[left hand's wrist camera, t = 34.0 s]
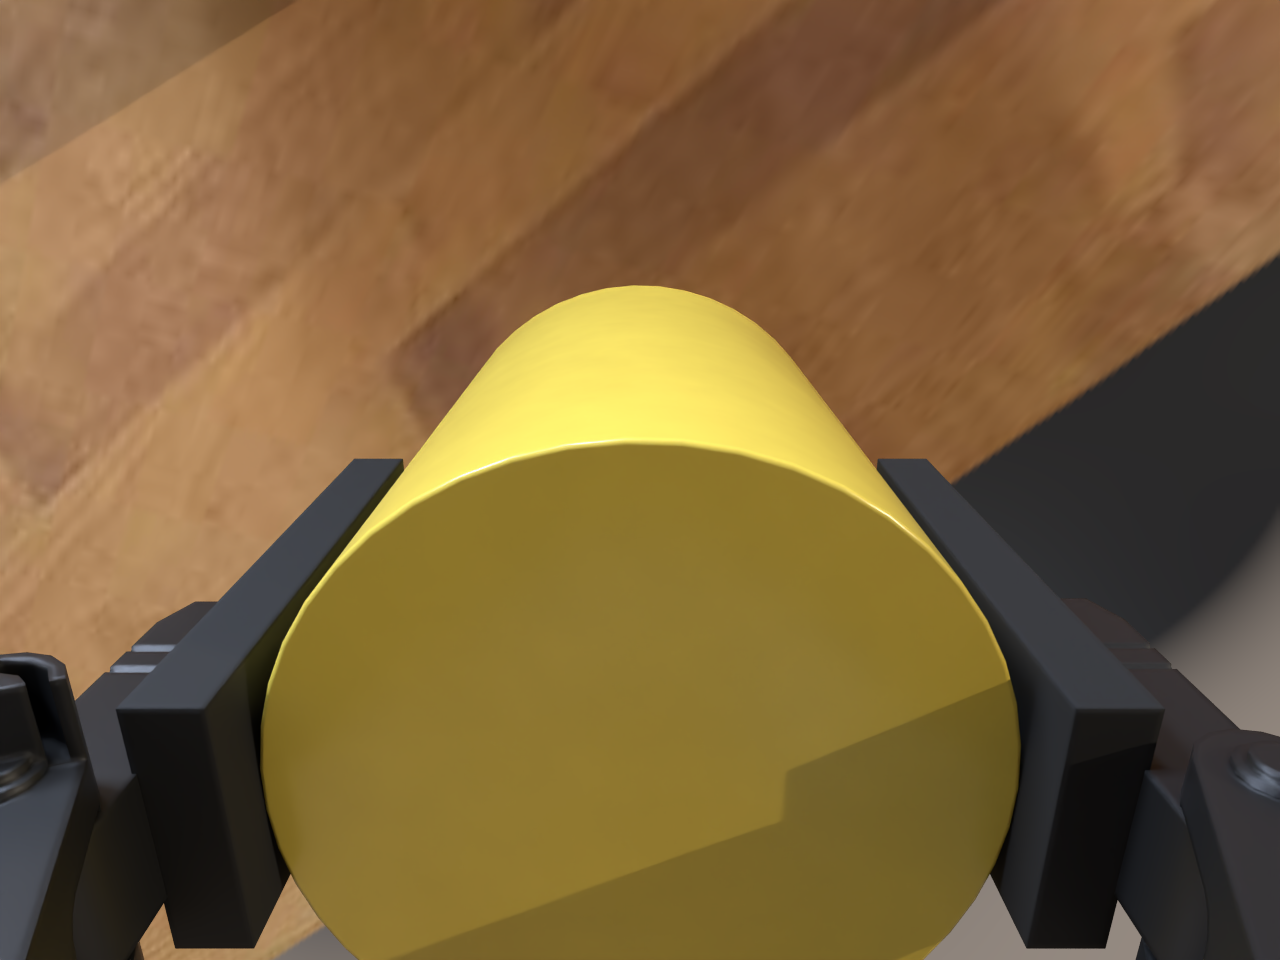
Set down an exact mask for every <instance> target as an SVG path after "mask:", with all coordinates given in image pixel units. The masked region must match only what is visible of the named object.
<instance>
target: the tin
mask: <svg viewBox="0 0 1280 960" xmlns="http://www.w3.org/2000/svg"><path fill="white" fill-rule="evenodd" d="M1020 754H1021V739H1020V729H1019V719H1018V709H1017V701H1016V698H1015V694H1014V690H1013V686H1012V683H1011V679H1010V675H1009V671H1008V668H1007V664H1006V661H1005V658H1004V656H1003V654H1002V652H1001V649H1000V647H999V645H998V643H997V641H996V638H995V636H994V634H993V632H992V629H991V627H990V625H989V623H988V621H987V619H986V617H985V616H984V614H983V613H982V611H981V610H980V608H979V607H978V605H977V604H976V602H975V601H974V599H973V598H972V596H971V595H970V593H969V592H968V590H967V589H966V587H965V586H964V584H963V583H962V581H961V580H960V578H959V577H958V576H957V574H956V573H955V572H954V571H953V569H952V568H951V567H950V565H949V564H948V563H947V561H946V560H945V559H944V557H943V556H942V555H941V554H940V552H939V551H938V550H937V548H936V547H935V546H934V544H933V543H932V542H931V540H930V539H929V538H928V537H927V535H926V534H925V533H924V531H923V530H922V529H921V527H920V526H919V525H918V523H917V522H916V521H915V520H914V518H913V517H912V516H911V514H910V513H909V512H908V510H907V509H906V508H905V506H904V505H903V504H902V502H901V501H900V500H899V499H898V497H897V496H896V495H895V493H894V492H893V491H892V489H891V488H890V487H889V485H888V484H887V483H886V482H885V480H884V479H883V478H882V476H881V475H880V474H879V472H878V471H877V470H876V468H875V467H874V466H873V465H872V463H871V462H870V461H869V459H868V458H867V457H866V455H865V454H864V453H863V451H862V450H861V449H860V447H859V446H858V445H857V444H856V442H855V441H854V440H853V438H852V437H851V436H850V434H849V433H848V432H847V430H846V429H845V428H844V427H843V425H842V424H841V423H840V421H839V420H838V419H837V417H836V416H835V415H834V413H833V412H832V411H831V410H830V408H829V407H828V406H827V404H826V403H825V402H824V400H823V399H822V398H821V396H820V395H819V394H818V393H817V391H816V390H815V389H814V387H813V386H812V385H811V383H810V382H809V381H808V379H807V378H806V377H805V375H804V374H803V373H802V372H801V370H800V369H799V368H798V366H797V365H796V364H795V362H794V361H793V360H792V358H791V357H790V356H789V355H788V354H787V353H786V352H785V351H784V349H783V348H782V347H781V346H780V345H779V344H778V343H777V342H776V340H775V339H774V338H772V337H771V336H770V335H769V334H768V333H767V332H765V331H764V330H763V329H762V328H761V327H759V326H758V325H757V324H756V323H755V322H753V321H752V320H750V319H748V318H747V317H745V316H744V315H742V314H741V313H739V312H737V311H736V310H734V309H732V308H730V307H728V306H726V305H724V304H721V303H719V302H717V301H715V300H713V299H711V298H708V297H704V296H701V295H698V294H695V293H691V292H688V291H684V290H678V289H672V288H666V287H660V286H624V287H614V288H606V289H602V290H598V291H594V292H589V293H585V294H581V295H579V296H576V297H573V298H571V299H568V300H566V301H563V302H561V303H558V304H556V305H554V306H552V307H551V308H549V309H547V310H545V311H543V312H542V313H540V314H538V315H536V316H534V317H533V318H532V319H530V320H529V321H528V322H526V323H525V324H524V325H522V326H521V327H520V328H518V329H517V330H516V331H514V332H513V333H512V334H511V335H510V336H509V337H508V338H507V339H506V340H505V341H504V342H503V343H502V344H501V345H500V346H499V347H498V348H497V349H496V351H495V352H494V353H493V354H492V356H491V357H490V358H489V360H488V361H487V362H486V364H485V365H484V366H483V368H482V369H481V370H480V371H479V373H478V374H477V375H476V377H475V378H474V379H473V381H472V382H471V383H470V385H469V386H468V387H467V389H466V390H465V391H464V393H463V394H462V395H461V396H460V398H459V399H458V400H457V402H456V403H455V404H454V406H453V407H452V408H451V410H450V411H449V412H448V414H447V415H446V416H445V418H444V419H443V420H442V421H441V423H440V424H439V425H438V427H437V428H436V429H435V431H434V432H433V433H432V435H431V436H430V437H429V439H428V440H427V441H426V443H425V444H424V445H423V446H422V448H421V449H420V450H419V452H418V453H417V454H416V456H415V457H414V458H413V460H412V461H411V462H410V464H409V465H408V466H407V468H406V469H405V470H404V471H403V473H402V474H401V475H400V477H399V478H398V479H397V481H396V482H395V483H394V485H393V486H392V487H391V489H390V490H389V491H388V493H387V494H386V495H385V496H384V498H383V499H382V500H381V502H380V503H379V504H378V506H377V507H376V508H375V510H374V511H373V512H372V514H371V515H370V516H369V518H368V519H367V520H366V521H365V523H364V524H363V525H362V527H361V528H360V529H359V531H358V532H357V533H356V535H355V536H354V537H353V539H352V540H351V541H350V543H349V544H348V545H347V546H346V548H345V549H344V550H343V552H342V553H341V554H340V556H339V557H338V558H337V560H336V561H335V562H334V564H333V565H332V566H331V568H330V569H329V570H328V571H327V573H326V574H325V575H324V577H323V578H322V579H321V581H320V582H319V583H318V585H317V586H316V587H315V589H314V590H313V591H312V593H311V594H310V595H309V596H308V598H307V599H306V600H305V602H304V604H303V605H302V607H301V609H300V611H299V613H298V615H297V616H296V618H295V620H294V622H293V624H292V626H291V627H290V629H289V631H288V633H287V635H286V637H285V638H284V640H283V642H282V645H281V648H280V651H279V654H278V657H277V659H276V662H275V665H274V668H273V671H272V674H271V676H270V679H269V682H268V687H267V692H266V698H265V704H264V709H263V715H262V721H261V748H260V770H261V777H262V784H263V790H264V797H265V804H266V810H267V813H268V816H269V819H270V823H271V826H272V829H273V832H274V835H275V839H276V842H277V845H278V848H279V850H280V852H281V854H282V856H283V858H284V861H285V863H286V865H287V867H288V869H289V871H290V873H291V875H292V877H293V879H294V881H295V883H296V885H297V886H298V888H299V889H300V891H301V892H302V894H303V895H304V897H305V898H306V900H307V901H308V903H309V904H310V906H311V907H312V909H313V910H314V912H315V913H316V915H317V916H318V918H319V919H320V920H321V921H322V922H323V923H324V925H325V926H326V927H327V928H328V929H329V930H330V931H331V933H332V934H333V935H334V936H335V937H336V938H337V939H338V941H339V942H340V943H341V944H342V945H343V946H344V947H345V948H346V949H347V950H348V951H349V952H350V953H351V954H352V955H353V956H355V957H356V958H357V959H358V960H923V959H924V958H925V957H926V956H927V955H928V954H929V953H930V952H931V951H932V950H933V949H934V948H935V947H936V946H937V945H938V944H939V943H940V942H941V941H942V940H943V939H944V938H945V937H946V936H947V935H948V934H949V933H950V932H951V931H952V929H953V928H954V927H955V925H956V924H957V923H958V922H959V920H960V919H961V918H962V916H963V915H964V914H965V912H966V911H967V910H968V908H969V907H970V906H971V904H972V903H973V902H974V900H975V899H976V897H977V895H978V894H979V892H980V890H981V888H982V887H983V885H984V883H985V881H986V880H987V878H988V876H989V874H990V873H991V871H992V869H993V867H994V866H995V863H996V861H997V858H998V856H999V853H1000V850H1001V848H1002V845H1003V843H1004V840H1005V838H1006V835H1007V833H1008V830H1009V827H1010V823H1011V818H1012V814H1013V810H1014V805H1015V801H1016V796H1017V792H1018V786H1019V770H1020Z"/></svg>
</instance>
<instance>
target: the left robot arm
mask: <svg viewBox="0 0 1280 960" xmlns="http://www.w3.org/2000/svg"><path fill="white" fill-rule="evenodd" d="M403 471H404V466H403V459H354V460H353V461H352V462H351V463H350V464H349V465H348V466H347V467H346V468H345V469H344V470H343V471H342V472H341V473H340V474H339V475H338V477H337V478H336V479H335V480H334V481H333V482H332V483H331V484H330V485H329V486H328V487H327V488H326V489H325V490H324V491H323V492H322V493H321V494H320V495H319V496H318V497H317V498H316V500H315V501H314V502H313V503H312V504H311V505H310V506H309V507H308V508H307V509H306V510H305V511H304V512H303V513H302V514H301V515H300V516H299V517H298V518H297V519H296V520H295V521H294V523H293V524H292V525H291V526H290V527H289V528H288V529H287V530H286V531H285V532H284V533H283V534H282V535H281V536H280V537H279V538H278V539H277V540H276V541H275V542H274V543H273V545H272V546H271V547H270V548H269V549H268V550H267V551H266V552H265V553H264V554H263V555H262V556H261V557H260V558H259V559H258V560H257V561H256V562H255V563H254V564H253V565H252V566H251V568H250V569H249V570H248V571H247V572H246V573H245V574H244V575H243V576H242V577H241V578H240V579H239V580H238V581H237V582H236V583H235V584H234V585H233V586H232V587H231V588H230V589H229V591H228V592H227V593H226V594H225V595H224V596H223V597H222V598H221V599H220V600H219V601H218V602H194V603H192V604H190V605H188V606H186V607H185V608H183V609H181V610H179V611H177V612H175V613H173V614H172V615H170V616H168V617H166V618H164V619H162V620H161V621H159V622H157V623H156V624H155V625H154V626H153V627H152V628H151V629H150V630H149V631H148V632H147V633H145V634H144V635H143V636H142V637H141V638H140V639H139V640H138V641H137V642H136V643H135V644H134V645H133V646H132V650H131V652H126V653H125V654H124V655H122V656H121V657H120V658H119V659H118V660H117V661H116V662H115V663H114V664H113V665H112V666H111V667H110V672H105V673H104V674H103V675H102V676H101V677H100V678H98V679H97V680H96V681H95V682H94V683H93V684H92V685H91V686H90V687H89V688H88V689H87V690H86V691H85V692H84V693H83V694H82V695H81V696H80V697H79V698H78V699H77V700H74V696H73V692H72V689H71V685H70V681H69V678H68V674H67V670H66V666H65V664H63V663H62V662H60V661H59V660H57V659H56V658H54V657H53V656H51V655H43V654H35V653H28V652H26V653H14V654H3V655H0V960H144V957H143V953H142V949H141V946H140V942H139V941H140V939H141V938H142V936H143V935H144V933H145V931H146V930H147V928H148V927H149V925H150V924H151V922H152V921H153V919H154V917H155V916H156V914H157V913H158V911H159V910H160V908H161V907H162V905H163V903H164V905H165V909H166V913H167V917H168V921H169V925H170V929H171V933H172V937H173V941H174V945H175V948H254V947H255V945H256V943H257V941H258V939H259V937H260V935H261V933H262V931H263V929H264V927H265V925H266V923H267V921H268V919H269V917H270V915H271V913H272V911H273V909H274V907H275V905H276V903H277V900H278V898H279V896H280V894H281V892H282V890H283V888H284V886H285V884H286V882H287V880H288V878H289V876H290V874H291V873H290V871H289V869H288V867H287V865H286V863H285V861H284V858H283V856H282V854H281V852H280V850H279V848H278V845H277V842H276V839H275V835H274V832H273V829H272V826H271V823H270V819H269V816H268V813H267V810H266V804H265V797H264V790H263V784H262V777H261V770H260V748H261V721H262V715H263V709H264V704H265V698H266V692H267V687H268V682H269V679H270V676H271V674H272V671H273V668H274V665H275V662H276V659H277V657H278V654H279V651H280V648H281V645H282V642H283V640H284V638H285V637H286V635H287V633H288V631H289V629H290V627H291V626H292V624H293V622H294V620H295V618H296V616H297V615H298V613H299V611H300V609H301V607H302V605H303V604H304V602H305V600H306V599H307V598H308V596H309V595H310V594H311V593H312V591H313V590H314V589H315V587H316V586H317V585H318V583H319V582H320V581H321V579H322V578H323V577H324V575H325V574H326V573H327V571H328V570H329V569H330V568H331V566H332V565H333V564H334V562H335V561H336V560H337V558H338V557H339V556H340V554H341V553H342V552H343V550H344V549H345V548H346V546H347V545H348V544H349V543H350V541H351V540H352V539H353V537H354V536H355V535H356V533H357V532H358V531H359V529H360V528H361V527H362V525H363V524H364V523H365V521H366V520H367V519H368V518H369V516H370V515H371V514H372V512H373V511H374V510H375V508H376V507H377V506H378V504H379V503H380V502H381V500H382V499H383V498H384V496H385V495H386V494H387V493H388V491H389V490H390V489H391V487H392V486H393V485H394V483H395V482H396V481H397V479H398V478H399V477H400V475H401V474H402V473H403ZM877 471H878V472H879V474H880V475H881V476H882V478H883V479H884V480H885V482H886V483H887V484H888V485H889V487H890V488H891V489H892V491H893V492H894V493H895V495H896V496H897V497H898V499H899V500H900V501H901V502H902V504H903V505H904V506H905V508H906V509H907V510H908V512H909V513H910V514H911V516H912V517H913V518H914V520H915V521H916V522H917V523H918V525H919V526H920V527H921V529H922V530H923V531H924V533H925V534H926V535H927V537H928V538H929V539H930V540H931V542H932V543H933V544H934V546H935V547H936V548H937V550H938V551H939V552H940V554H941V555H942V556H943V557H944V559H945V560H946V561H947V563H948V564H949V565H950V567H951V568H952V569H953V571H954V572H955V573H956V574H957V576H958V577H959V578H960V580H961V581H962V583H963V584H964V586H965V587H966V589H967V590H968V592H969V593H970V595H971V596H972V598H973V599H974V601H975V602H976V604H977V605H978V607H979V608H980V610H981V611H982V613H983V614H984V616H985V617H986V619H987V621H988V623H989V625H990V627H991V629H992V632H993V634H994V636H995V638H996V641H997V643H998V645H999V647H1000V649H1001V652H1002V654H1003V656H1004V658H1005V661H1006V664H1007V668H1008V671H1009V675H1010V679H1011V683H1012V686H1013V690H1014V694H1015V698H1016V701H1017V709H1018V719H1019V729H1020V739H1021V754H1020V770H1019V786H1018V792H1017V796H1016V801H1015V805H1014V810H1013V814H1012V818H1011V823H1010V827H1009V830H1008V833H1007V835H1006V838H1005V840H1004V843H1003V845H1002V848H1001V850H1000V853H999V856H998V858H997V861H996V863H995V866H994V867H993V869H992V871H991V873H990V875H991V877H992V879H993V881H994V883H995V885H996V887H997V889H998V891H999V893H1000V895H1001V897H1002V899H1003V901H1004V903H1005V905H1006V907H1007V909H1008V911H1009V914H1010V915H1011V918H1012V920H1013V922H1014V924H1015V926H1016V928H1017V930H1018V932H1019V934H1020V936H1021V938H1022V940H1023V942H1024V944H1025V946H1026V948H1099V949H1100V948H1104V949H1105V948H1106V944H1107V940H1108V936H1109V932H1110V928H1111V924H1112V920H1113V916H1114V912H1115V908H1116V904H1117V900H1118V901H1119V902H1120V904H1121V905H1122V907H1123V909H1124V910H1125V912H1126V913H1127V915H1128V916H1129V918H1130V919H1131V921H1132V923H1133V924H1134V925H1135V927H1136V929H1137V930H1138V932H1139V933H1140V935H1141V936H1142V938H1141V942H1140V946H1139V949H1138V953H1137V957H1136V960H1280V737H1279V736H1275V735H1271V734H1268V733H1264V732H1258V731H1249V730H1240V729H1239V728H1238V727H1237V726H1236V725H1235V724H1234V723H1233V722H1232V721H1231V720H1230V719H1229V718H1228V717H1227V716H1226V715H1224V714H1223V713H1222V712H1221V711H1220V710H1219V709H1218V708H1217V707H1216V706H1215V705H1214V704H1213V703H1212V702H1211V701H1210V700H1209V699H1208V698H1207V697H1205V696H1204V695H1203V694H1202V693H1201V692H1200V691H1199V690H1198V689H1197V688H1196V687H1195V686H1194V685H1193V684H1192V683H1191V682H1190V681H1189V680H1188V679H1187V678H1185V677H1184V676H1183V675H1182V674H1181V673H1180V672H1179V671H1178V670H1177V669H1172V668H1171V663H1170V662H1169V661H1168V660H1167V659H1165V658H1164V657H1163V656H1162V655H1161V654H1160V653H1159V652H1158V651H1157V650H1156V649H1155V648H1154V649H1151V648H1150V643H1149V642H1147V640H1145V639H1144V638H1143V637H1142V636H1141V635H1140V634H1139V633H1138V632H1137V631H1136V630H1135V629H1134V628H1133V627H1132V626H1131V625H1130V624H1129V623H1128V622H1127V621H1125V620H1124V619H1123V618H1121V617H1119V616H1117V615H1115V614H1113V613H1111V612H1110V611H1108V610H1106V609H1104V608H1102V607H1100V606H1098V605H1097V604H1095V603H1093V602H1091V601H1089V600H1087V599H1060V598H1059V597H1058V596H1057V595H1056V594H1055V593H1054V592H1053V591H1052V590H1051V589H1050V588H1049V587H1048V586H1047V585H1046V584H1045V583H1044V582H1043V580H1042V579H1041V578H1040V577H1039V576H1038V575H1037V574H1036V573H1035V572H1034V571H1033V570H1032V569H1031V568H1030V567H1029V566H1028V565H1027V564H1026V563H1025V562H1024V561H1023V560H1022V558H1021V557H1020V556H1019V555H1018V554H1017V553H1016V552H1015V551H1014V550H1013V549H1012V548H1011V547H1010V546H1009V545H1008V544H1007V543H1006V542H1005V541H1004V540H1003V539H1002V538H1001V537H1000V535H999V534H998V533H997V532H996V531H995V530H994V529H993V528H992V527H991V526H990V525H989V524H988V523H987V522H986V521H985V520H984V519H983V518H982V517H981V516H980V515H979V514H978V512H977V511H976V510H975V509H974V508H973V507H972V506H971V505H970V504H969V503H968V502H967V501H966V500H965V499H964V498H963V497H962V496H961V495H960V494H959V493H958V492H957V491H956V489H955V488H954V487H953V486H952V485H951V484H950V483H949V482H948V481H947V480H946V479H945V478H944V477H943V476H942V475H941V474H940V473H939V472H938V471H937V470H936V469H935V468H934V466H933V465H932V464H931V463H930V462H929V461H928V460H927V459H878V462H877Z"/></svg>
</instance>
